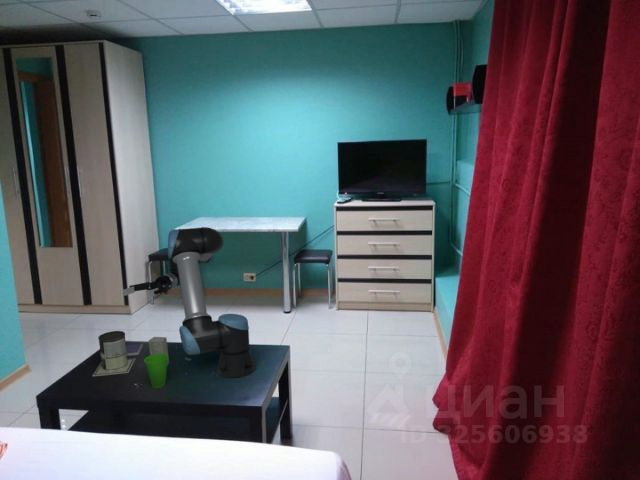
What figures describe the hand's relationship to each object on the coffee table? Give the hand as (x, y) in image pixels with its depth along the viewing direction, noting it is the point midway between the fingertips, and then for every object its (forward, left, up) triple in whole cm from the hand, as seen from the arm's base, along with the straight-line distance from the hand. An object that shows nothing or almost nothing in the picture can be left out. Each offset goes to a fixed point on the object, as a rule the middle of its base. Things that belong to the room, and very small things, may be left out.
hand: (135, 293), depth 206 cm
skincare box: (-17, -11, -28) cm, 34 cm away
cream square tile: (-14, +8, -28) cm, 32 cm away
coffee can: (-14, +8, -28) cm, 32 cm away
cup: (-35, -13, -28) cm, 46 cm away
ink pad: (+3, +6, -28) cm, 29 cm away
